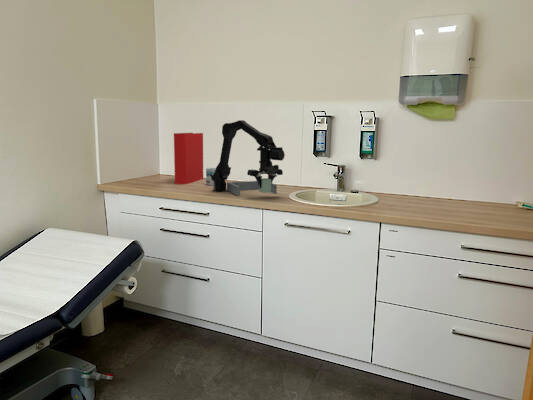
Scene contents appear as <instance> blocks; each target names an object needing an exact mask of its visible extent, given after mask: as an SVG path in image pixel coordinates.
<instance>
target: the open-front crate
mask: <svg viewBox="0 0 533 400" xmlns="http://www.w3.org/2000/svg"><path fill="white" fill-rule="evenodd" d="M277 189H278V188H277V184H276V183H273V182H272V184H271V192H270V193H273V194H277ZM255 190H259V185H258V182H257V180H250V181H247V180H245V181H230V182H229V181H228V182H226V192H229V193H232V194H234V195H235V196H238V197H239V196H241V191H255Z"/></svg>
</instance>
